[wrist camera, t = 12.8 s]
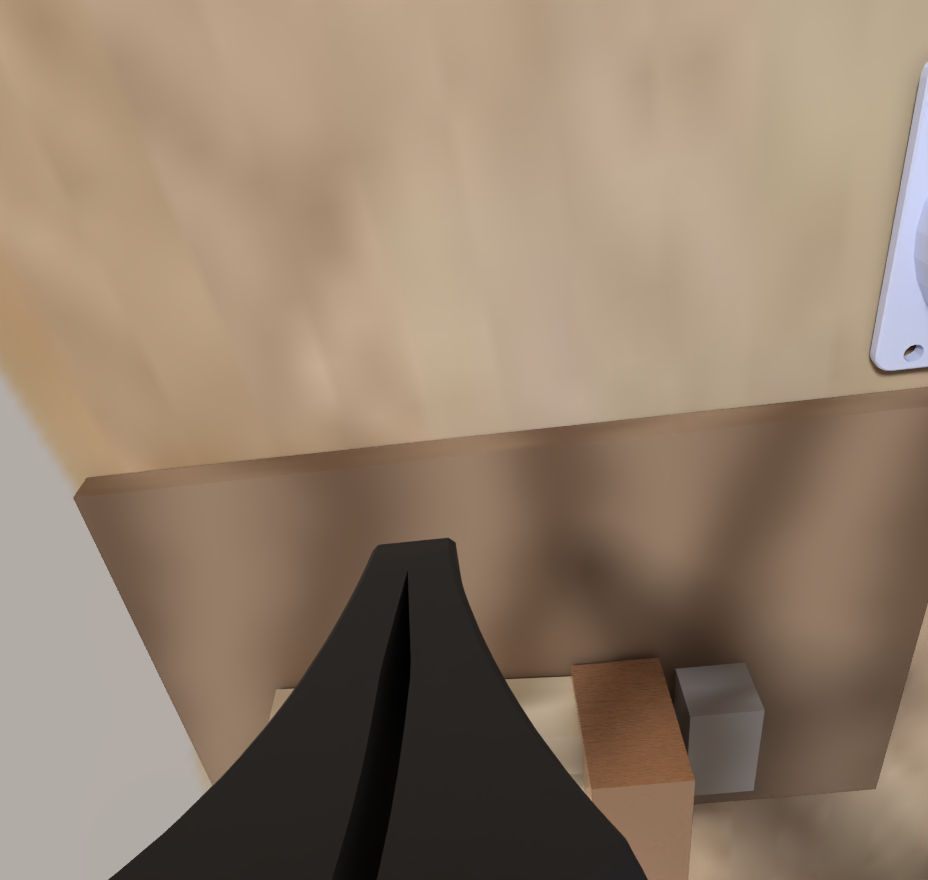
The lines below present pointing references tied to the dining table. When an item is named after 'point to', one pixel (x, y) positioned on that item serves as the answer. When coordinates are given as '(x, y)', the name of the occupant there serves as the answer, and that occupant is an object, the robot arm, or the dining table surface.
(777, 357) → the dining table surface
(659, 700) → the brown rectangular block
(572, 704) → the bar
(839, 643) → the tongs base
